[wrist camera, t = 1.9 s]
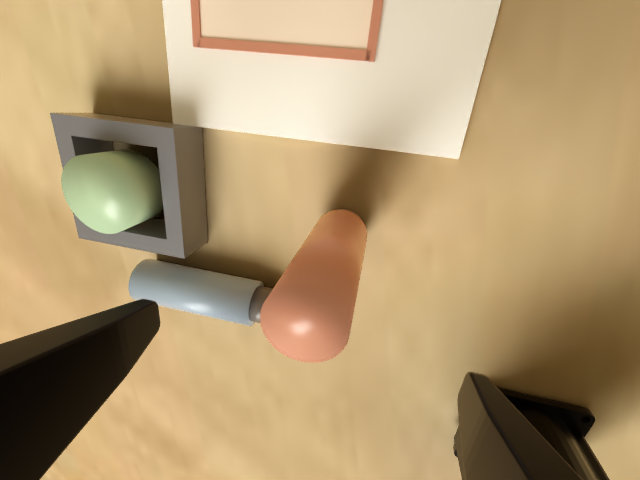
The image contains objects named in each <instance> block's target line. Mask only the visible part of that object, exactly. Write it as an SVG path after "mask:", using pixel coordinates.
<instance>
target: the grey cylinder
mask: <svg viewBox="0 0 640 480" xmlns="http://www.w3.org/2000/svg"><path fill="white" fill-rule="evenodd" d="M263 286H264V285H263V282H262V281H257V280H253V279H248V278H243V277H238V276H233V275H228V274H223V273H218V272H213V271H208V270H203V269H198V268H193V267H188V266H183V265H178V264H173V263H168V262H163V261H158V260H153V259H146V260H143V261H142V262H140V263H139V264H138V265H137V266H136V267H135V269H134V270H133V272H132V274H131V276H130V280H129V293H130V296H131V297H132V298H133V299H134V300H136V301H137V300H140V299H148V300H152V301H155V302H156V303H157V304H158V305H159V306H163V307H167V308H172V309H176V310H181V311H185V312H190V313H194V314H199V315H203V316H208V317H212V318H216V319H221V320H225V321H230V322H234V323H239V324H243V325H248V326H252V325H253V324H254V323H255V322H258V323H261V322H260V313H261V308H262V306H263V303H264V302H265V300H266V299H267V297H268V296H269V294H270V293H271V291H272V290H273V288H268V287H263Z"/></svg>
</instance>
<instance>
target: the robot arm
mask: <svg viewBox="0 0 640 480" xmlns="http://www.w3.org/2000/svg"><path fill="white" fill-rule="evenodd" d="M159 327H160V317H159V309H158V304H157V303H156V302H155V301H152V300H148V299H140V300H137V301H134V302H131V303H128V304H124V305H121V306H118V307H115V308H112V309H109V310H106V311H102V312H99V313H96V314H93V315H90V316H87V317H84V318H81V319H77V320H74V321H71V322H68V323H65V324H62V325H59V326H56V327H52V328H49V329H46V330H43V331H40V332H37V333H34V334H31V335H27V336H24V337H21V338H18V339H15V340H12V341H9V342H5V343H2V344H0V480H40V479H41V477H42V476H43V475H44V474H45V473H46V471H47V470H48V469H49V468H50V467H51V466H52V464H53V463H54V462H55V461H56V460H57V458H58V457H59V456H60V455H61V454H62V452H63V451H64V450H65V449H66V448H67V446H68V445H69V444H70V443H71V442H72V440H73V439H74V438H75V437H76V436H77V435H78V433H79V432H80V431H81V430H82V429H83V427H84V426H85V425H86V424H87V423H88V421H89V420H90V419H91V418H92V417H93V415H94V414H95V413H96V412H97V411H98V410H99V408H100V407H101V406H102V405H103V404H104V402H105V401H106V400H107V399H108V398H109V396H110V395H111V394H112V393H113V392H114V390H115V389H116V388H117V387H118V386H119V384H120V383H121V382H122V381H123V380H124V378H125V377H126V376H127V374H128V373H129V372H130V370H131V369H132V368H133V366H134V365H135V363H136V362H137V361H138V359H139V358H140V356H141V355H142V353H143V352H144V350H145V349H146V348H147V346H148V345H149V343H150V342H151V340H152V339H153V338H154V336H155V335H156V333H157V332H158V330H159ZM458 412H459V423H460V425H459V427H458V429H457V432H456V434H455V437H454V440H455V444H454V446H453V449H454V454H455V456H456V457H458V461H459V466H460V471H461V476H462V480H610V479H609V478H608V476H607V474H606V473H605V471H604V469H603V468H602V466H601V464H600V463H599V461H598V459H597V458H596V456H595V454H594V453H593V451H592V449H591V448H590V446H589V444H588V443H587V441H586V439H585V438H584V437H585V436H586V434H587V433H588V431H589V430H590V428H591V427H592V425H593V424H594V422H595V417H594V416H593V414H592V413H591V411H590V410H589V409H586V408H583V407H578V406H574V405H570V404H565V403H561V402H556V401H552V400H548V399H543V398H539V397H534V396H530V395H526V394H521V393H517V392H512V391H508V390H504V389H499V388H497V387H496V386H495V385H494V384H493V383H492V382H491V381H490V380H489V378H488V377H486V376H485V375H483V374H479V373H474V372H468V373H467V374H466V376H465V378H464V381H463V384H462V386H461V389H460V391H459V394H458Z"/></svg>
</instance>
